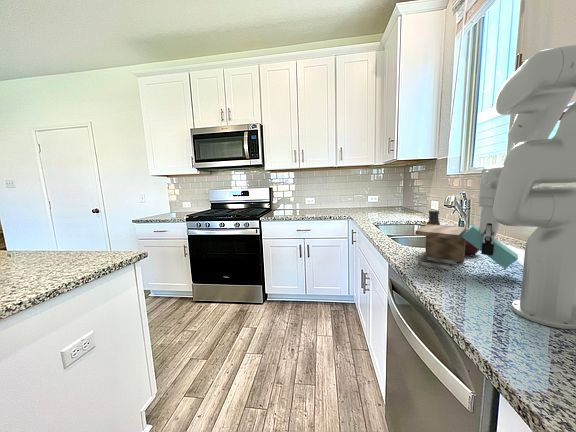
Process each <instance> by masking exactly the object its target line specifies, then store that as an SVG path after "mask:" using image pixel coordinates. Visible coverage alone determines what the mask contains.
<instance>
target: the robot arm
mask: <svg viewBox="0 0 576 432" xmlns="http://www.w3.org/2000/svg"><path fill="white" fill-rule="evenodd" d="M575 93H576V44H573V45H565V46H557V47H552V48H547V49H543V50H540V51H538V52H536V53H534V54H532V55H530V57H529V58H527V59H526V60H525V61H524V62H523V63H522V64H521V65H520V66H519V67H518V68H517V69H516V70H515V71H514V72H513V73H512V74H511V75H510V76H509V77H508V79H507V80H506V81H505V82H504V83H503V85H502V86H501V87H500V89H499V92H498V93H497V97H496V99H495V111H496V112H497V113H498V114H499V115H502V116H503V115H504V116H507V115H508V116H510V115H516V116H515V118H514V121H513V123H512V125H511V127H510V129H509V131H508V133H507V137H508V139H509V140H510V142H511V143H514V144H515V146H513V147H512V148H511V149H510V150H509V152H508V153H507V155H506V156H505V158H504V161H503V165H493V166H487V167H484V168H483V167H482V170H481V172H480V183H479V194H478V195H479V197H478V207H480V208H481V210H480V211H481V212H480V218H479V226H478V227H479V234H480V235H481V234H483V233H484V237H483V243H482V251H480V253H481V255H485V256H487V255H491V256H492V255H493V250H494V244H493V239H494V238H496V236H497V235H498V231H499V227H500V224H501V225H503V226H507V227H524V228H525V227H532V228H533V227H535V228H536V227H537V228H536V229H535V230H534V231H532V233H531V234H530V235H529V236H528V238H527V240H526V243H525V248H524V256H523V257H524V259H523V269H522V270H523V271H522V277H521V290H520V299H515V300H514V301H512V302H511V309H512V311H513V312H514V313H515V314H517V315H518V316H521V317H522V318H525V319H526V320H529V321H531V322H534V323H537V324H540V325H543V326H547V327H552V328H556V329H557V328H558V329H563V330H576V186H572V185H547V186H546V185H541V184H568V183H569V184H572V183H573V184H574V183H576V101H575V102H573V103H572V105H570V106H569V108H567V107H568V105H569V103H570V102H571V100H572V98H573V97H574V95H575ZM566 108H567V109H566ZM565 110H566V111H565ZM564 111H565V112H564ZM559 120H560V121H559ZM558 122H559V125H558V128H557V130H556V133H555V135H554V136H553V137H551V138H549V137H550V136H551V134H552V132H553V131H554V129H555V127H556V126H557V124H558ZM539 185H540V186H539ZM485 233H486V234H485ZM491 237H492V238H491Z"/></svg>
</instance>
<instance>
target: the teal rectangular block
mask: <svg viewBox="0 0 576 432" xmlns="http://www.w3.org/2000/svg"><path fill="white" fill-rule="evenodd" d="M479 227H480V226H478V225H476V224H473V225H471V226H470V227H469V228H468V229H466V232H465V233H464V234H463V236H462V237H463V238H464V239H465V240H467V241H468V242H469V243H471V244H472V245H474V246H475V247H476V248H478V249H479V251H480V252H481V251H482V243H483V237H484V233H483V234H481V235H480V234H479ZM485 234H486V233H485ZM491 238H492V237H491ZM493 244H494V250H493V255H492V256H491V255H486V256H487V257H488V258H490V260H493V262H496V263H497V264H498V265H499V266H500V267H502V268H503V269H507V268H508V267H510V266H511V265H513V264H514V262H516V261H517V260H518V259H519V255H518V253H516V252H515V251H514V250H512V249H510V248H509V247H507V246H506V245H505V244H503V243H502V242H501V241H499V240H498V239H496V237H494V239H493Z"/></svg>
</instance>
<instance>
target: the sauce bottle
mask: <svg viewBox="0 0 576 432" xmlns="http://www.w3.org/2000/svg"><path fill="white" fill-rule="evenodd" d="M439 215H440V210H435V209H433V210H428V221H427V223H426V225H427V224H433V225H441V223H440V221H439ZM424 243H425V245H424V246H425V247H424V248H425V250H426V240H425V242H424Z"/></svg>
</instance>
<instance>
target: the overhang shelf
mask: <svg viewBox="0 0 576 432" xmlns="http://www.w3.org/2000/svg"><path fill="white" fill-rule="evenodd" d="M466 231H467V226H458V225H457V226H456V225H447V224H445V225H444V224H440V225H433V224H427V223H426V224H425V225H424V226H421V227H420V228H417V229H416V230H415V233H414V234H415V236H416V235H417V236H424V237H425V241H426V249H425V251H424V252H423V253H422V254H421V255H420V256H418V265H419V266H423V267H424V266H426V267H429V268H436V269H441V270H447V271H453V266H450V264H451V265H457V263H465V256H466V255H465V239H464V238H463V237H462V236H463V234H464V233H465V232H466ZM426 261H431V262H426ZM433 262H439V263H445V264H449V265H443V264H439V263H433Z"/></svg>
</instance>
